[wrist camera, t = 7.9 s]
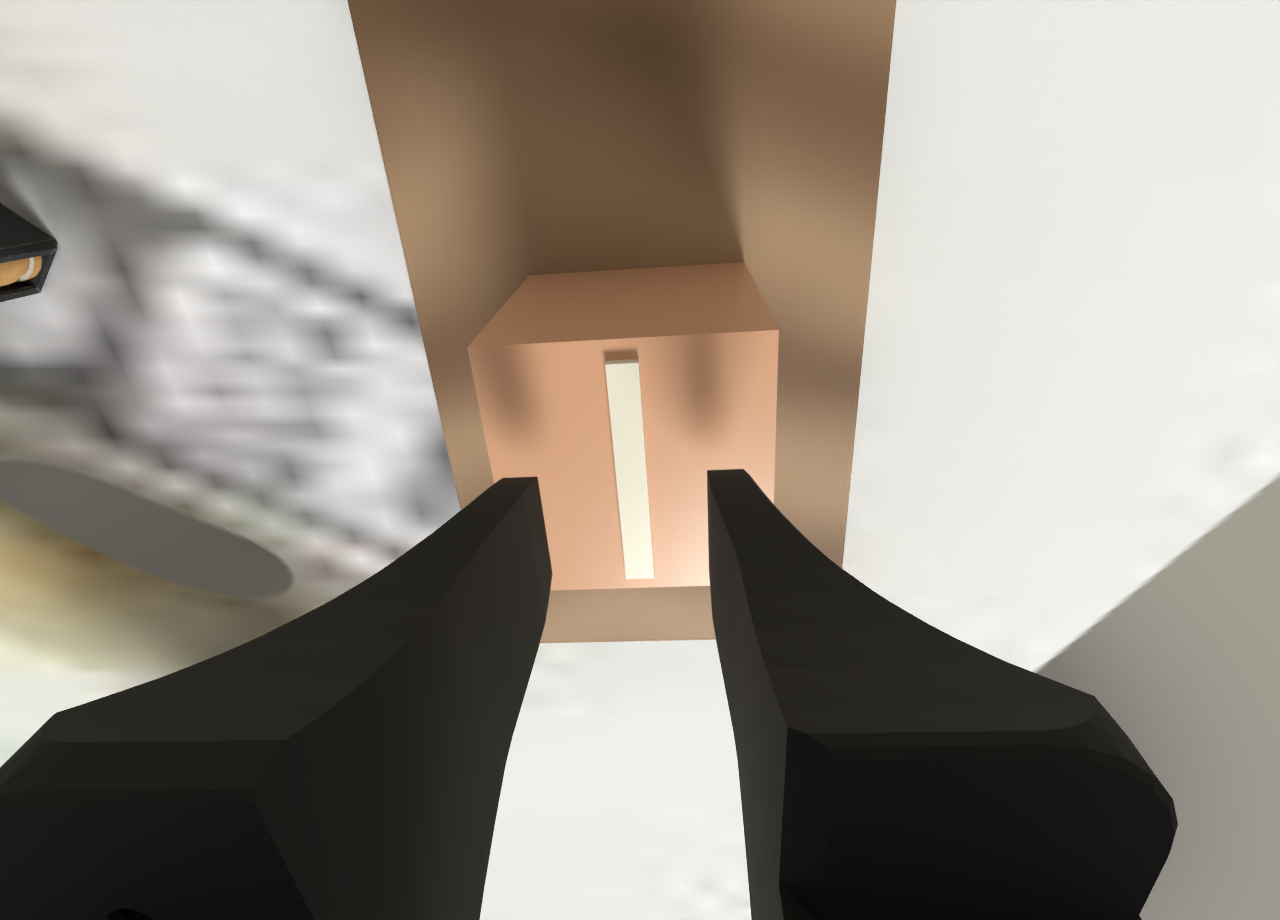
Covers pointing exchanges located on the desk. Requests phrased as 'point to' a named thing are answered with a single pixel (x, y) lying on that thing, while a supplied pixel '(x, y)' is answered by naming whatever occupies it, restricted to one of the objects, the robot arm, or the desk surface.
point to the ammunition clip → (22, 256)
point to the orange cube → (629, 412)
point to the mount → (641, 203)
